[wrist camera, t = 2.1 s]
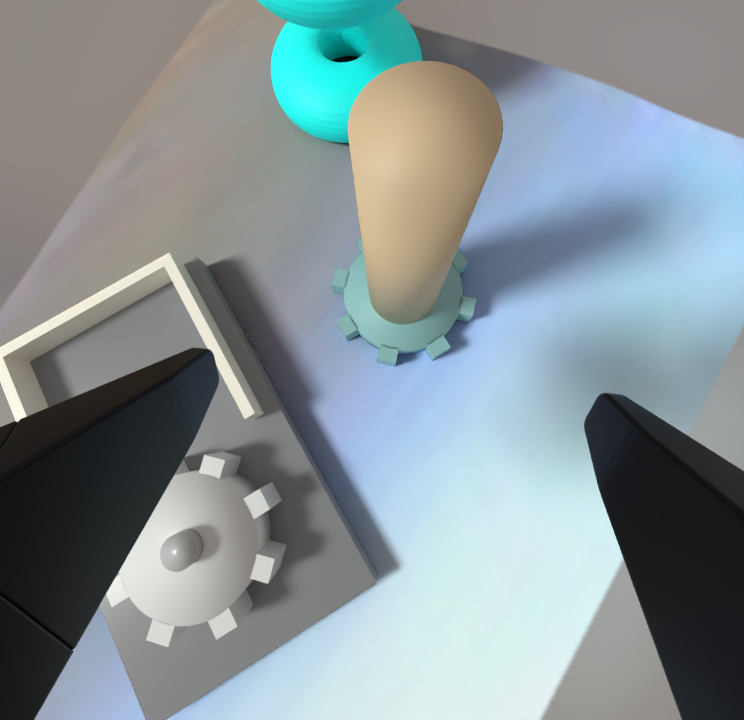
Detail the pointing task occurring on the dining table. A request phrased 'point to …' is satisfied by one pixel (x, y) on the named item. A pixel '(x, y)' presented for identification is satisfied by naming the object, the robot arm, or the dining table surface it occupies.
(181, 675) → the carrier plate
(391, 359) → the gear
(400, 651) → the dining table surface
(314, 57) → the donuts
